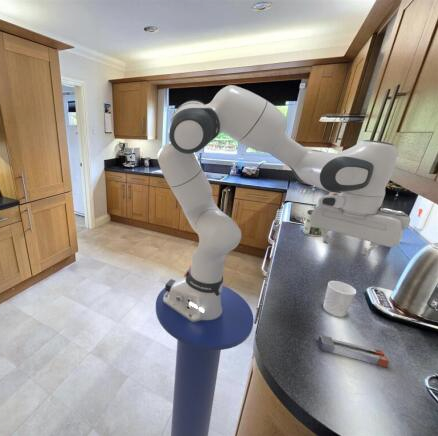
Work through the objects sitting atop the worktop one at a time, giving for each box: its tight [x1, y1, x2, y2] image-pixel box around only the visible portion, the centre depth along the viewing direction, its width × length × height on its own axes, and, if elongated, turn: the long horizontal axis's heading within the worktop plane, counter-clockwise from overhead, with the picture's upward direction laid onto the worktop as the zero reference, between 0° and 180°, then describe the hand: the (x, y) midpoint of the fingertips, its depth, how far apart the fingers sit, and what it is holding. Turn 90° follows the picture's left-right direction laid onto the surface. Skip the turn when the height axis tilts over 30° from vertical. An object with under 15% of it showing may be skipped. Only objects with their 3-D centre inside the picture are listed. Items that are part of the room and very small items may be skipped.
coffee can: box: [302, 209, 322, 237], centre depth 153 cm, size 10×10×14 cm
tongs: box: [317, 334, 390, 368], centre depth 70 cm, size 16×4×3 cm, turn 70°
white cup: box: [322, 280, 357, 318], centre depth 86 cm, size 8×8×10 cm
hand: (344, 248), depth 70 cm, fingers open, 8 cm apart
